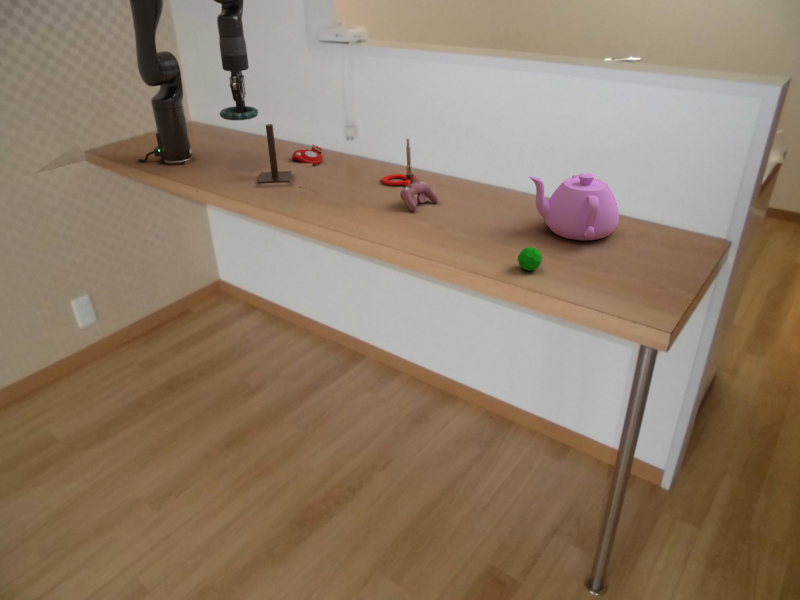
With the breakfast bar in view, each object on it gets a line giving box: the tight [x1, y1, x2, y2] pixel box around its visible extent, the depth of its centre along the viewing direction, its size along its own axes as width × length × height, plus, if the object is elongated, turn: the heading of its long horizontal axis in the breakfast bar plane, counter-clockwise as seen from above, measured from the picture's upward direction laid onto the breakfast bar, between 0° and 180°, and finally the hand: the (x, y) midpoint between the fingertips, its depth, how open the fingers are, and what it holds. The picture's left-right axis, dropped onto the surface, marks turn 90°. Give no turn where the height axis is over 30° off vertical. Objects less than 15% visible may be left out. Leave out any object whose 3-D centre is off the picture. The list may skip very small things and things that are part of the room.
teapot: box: [528, 172, 620, 241], centre depth 144 cm, size 22×22×14 cm
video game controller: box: [399, 181, 439, 213], centre depth 162 cm, size 10×5×7 cm, turn 135°
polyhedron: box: [517, 246, 543, 272], centre depth 129 cm, size 5×5×5 cm
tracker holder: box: [291, 144, 324, 166], centre depth 199 cm, size 12×4×10 cm
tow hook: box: [381, 138, 417, 187], centre depth 177 cm, size 8×13×9 cm
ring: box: [219, 105, 259, 121], centre depth 184 cm, size 11×11×2 cm
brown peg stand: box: [257, 123, 293, 185], centre depth 178 cm, size 9×9×16 cm
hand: (241, 112), depth 188 cm, fingers closed on ring, 2 cm apart
